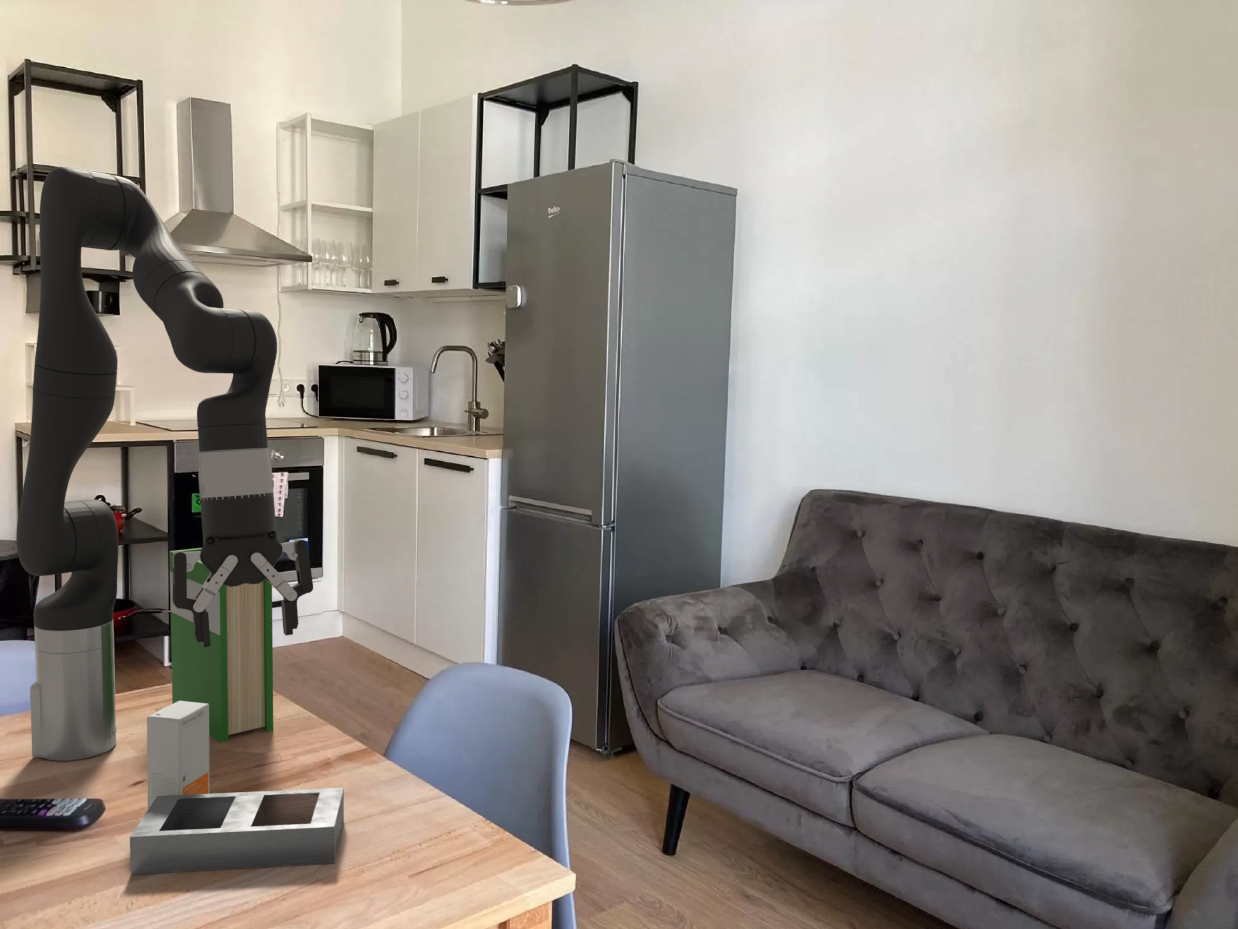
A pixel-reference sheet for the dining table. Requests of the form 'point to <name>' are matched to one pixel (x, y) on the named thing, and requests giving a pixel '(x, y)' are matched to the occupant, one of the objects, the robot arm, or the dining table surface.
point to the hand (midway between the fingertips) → (247, 640)
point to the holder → (238, 831)
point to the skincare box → (178, 750)
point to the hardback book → (226, 655)
